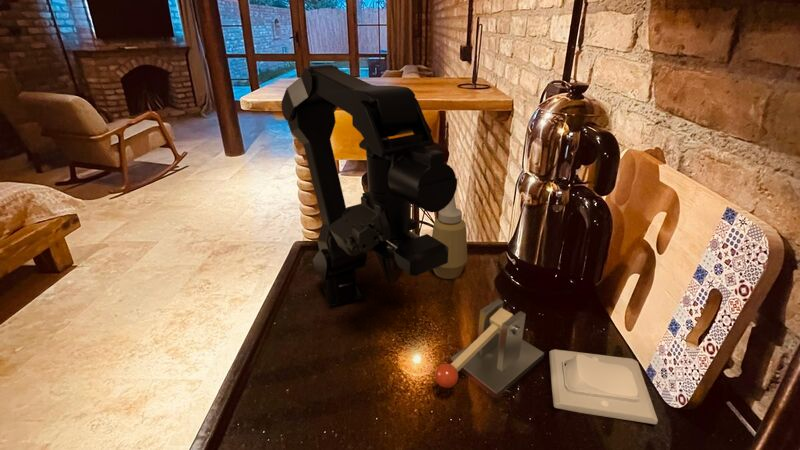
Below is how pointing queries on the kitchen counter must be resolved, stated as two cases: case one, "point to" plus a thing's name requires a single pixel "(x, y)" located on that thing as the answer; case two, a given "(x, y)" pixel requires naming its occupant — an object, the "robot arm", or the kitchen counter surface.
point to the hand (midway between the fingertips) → (392, 283)
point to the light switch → (600, 386)
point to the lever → (470, 351)
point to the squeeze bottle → (451, 240)
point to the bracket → (500, 354)
